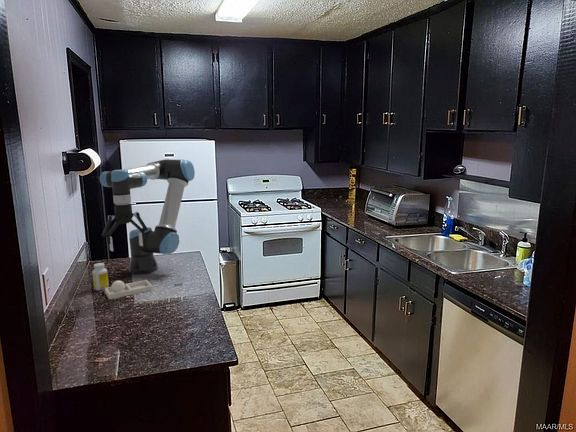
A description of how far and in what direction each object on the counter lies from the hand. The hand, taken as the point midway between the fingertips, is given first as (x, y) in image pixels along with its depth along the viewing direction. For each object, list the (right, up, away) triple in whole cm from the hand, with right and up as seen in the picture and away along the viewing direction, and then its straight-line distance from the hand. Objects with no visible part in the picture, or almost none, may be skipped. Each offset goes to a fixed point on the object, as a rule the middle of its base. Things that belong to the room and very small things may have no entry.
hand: (126, 248), depth 198 cm
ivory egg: (-3, -21, -2) cm, 21 cm away
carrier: (+1, -21, +1) cm, 21 cm away
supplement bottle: (-14, -21, +5) cm, 26 cm away
